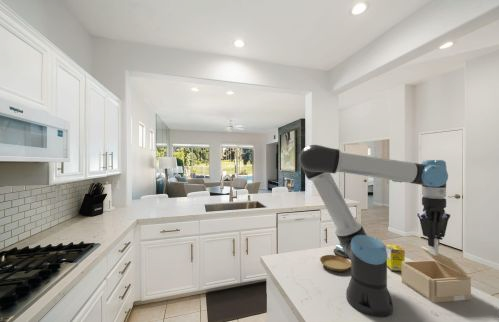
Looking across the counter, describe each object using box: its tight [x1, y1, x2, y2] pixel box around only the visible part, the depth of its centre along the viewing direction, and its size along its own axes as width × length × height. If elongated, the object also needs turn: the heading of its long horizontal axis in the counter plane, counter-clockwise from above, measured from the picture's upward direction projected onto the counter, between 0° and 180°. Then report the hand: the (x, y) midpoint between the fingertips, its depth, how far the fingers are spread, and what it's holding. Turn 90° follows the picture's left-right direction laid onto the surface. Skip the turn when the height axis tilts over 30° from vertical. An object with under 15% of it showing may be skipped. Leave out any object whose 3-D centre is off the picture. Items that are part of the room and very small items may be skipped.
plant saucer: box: [319, 254, 351, 273], centre depth 105 cm, size 15×15×3 cm
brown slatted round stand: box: [333, 243, 349, 258], centre depth 120 cm, size 12×12×8 cm
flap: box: [421, 245, 468, 276], centre depth 85 cm, size 9×12×1 cm
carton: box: [401, 259, 472, 304], centre depth 84 cm, size 16×16×9 cm
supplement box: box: [385, 244, 405, 273], centre depth 101 cm, size 6×6×11 cm
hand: (433, 253), depth 84 cm, fingers closed
